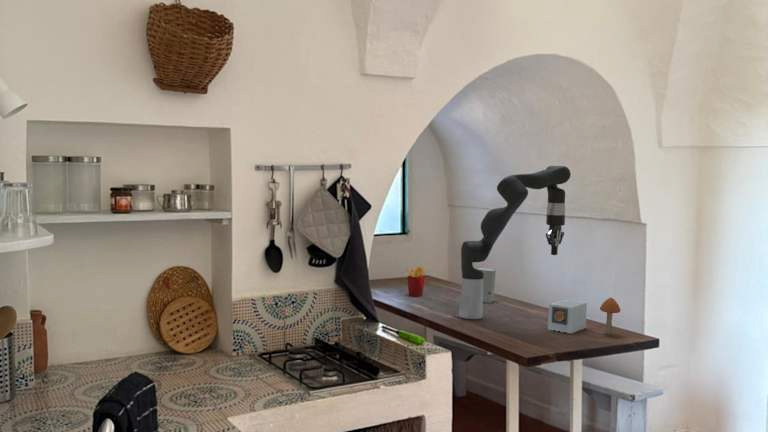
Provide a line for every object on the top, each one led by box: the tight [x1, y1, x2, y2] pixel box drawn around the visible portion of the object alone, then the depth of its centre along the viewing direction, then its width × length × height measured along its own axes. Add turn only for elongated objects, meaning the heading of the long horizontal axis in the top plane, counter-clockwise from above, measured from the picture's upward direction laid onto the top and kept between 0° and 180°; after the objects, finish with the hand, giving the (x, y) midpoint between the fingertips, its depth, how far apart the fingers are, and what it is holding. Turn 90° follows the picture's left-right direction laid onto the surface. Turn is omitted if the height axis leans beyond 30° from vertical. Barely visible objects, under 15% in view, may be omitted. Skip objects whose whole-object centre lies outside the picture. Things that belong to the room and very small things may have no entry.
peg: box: [555, 310, 565, 321], centre depth 310 cm, size 12×4×4 cm, turn 141°
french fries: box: [406, 265, 427, 298], centre depth 377 cm, size 9×8×15 cm
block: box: [547, 299, 588, 334], centre depth 311 cm, size 15×10×10 cm
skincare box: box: [476, 267, 496, 304], centre depth 366 cm, size 8×7×16 cm
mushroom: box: [599, 297, 621, 336], centre depth 302 cm, size 8×8×15 cm
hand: (554, 254), depth 319 cm, fingers closed
